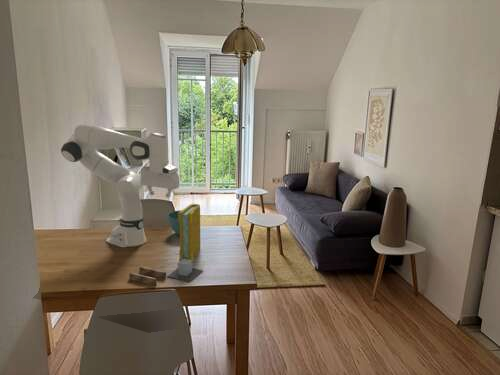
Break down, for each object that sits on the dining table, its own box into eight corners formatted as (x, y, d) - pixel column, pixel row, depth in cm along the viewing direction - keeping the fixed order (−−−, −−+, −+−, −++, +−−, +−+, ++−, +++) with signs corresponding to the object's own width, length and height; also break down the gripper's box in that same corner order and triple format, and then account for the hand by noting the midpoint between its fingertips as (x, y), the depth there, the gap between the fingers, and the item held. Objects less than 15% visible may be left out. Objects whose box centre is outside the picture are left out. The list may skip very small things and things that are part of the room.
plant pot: (169, 240, 216) (168, 219, 213) (167, 229, 233) (166, 210, 230) (200, 237, 221) (200, 217, 218) (196, 227, 238) (196, 209, 235)
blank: (178, 274, 173) (177, 262, 172) (183, 270, 178) (183, 258, 176) (186, 276, 172) (186, 264, 170) (192, 271, 176) (192, 260, 175)
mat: (167, 277, 172) (167, 276, 171) (181, 266, 182) (181, 265, 182) (189, 282, 167) (189, 281, 167) (203, 271, 178) (203, 270, 178)
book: (191, 260, 190) (191, 213, 184) (179, 259, 191) (178, 212, 185) (202, 248, 206) (202, 204, 200) (191, 246, 207) (190, 203, 201)
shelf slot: (129, 279, 169) (129, 273, 168) (140, 272, 176) (140, 266, 175) (155, 285, 163) (155, 279, 163) (165, 277, 171) (165, 271, 170)
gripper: (136, 166, 178) (138, 194, 181) (173, 170, 170) (174, 200, 173) (145, 164, 183) (146, 192, 186) (180, 168, 176) (181, 196, 179)
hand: (160, 196), depth 180 cm, fingers open, 8 cm apart
